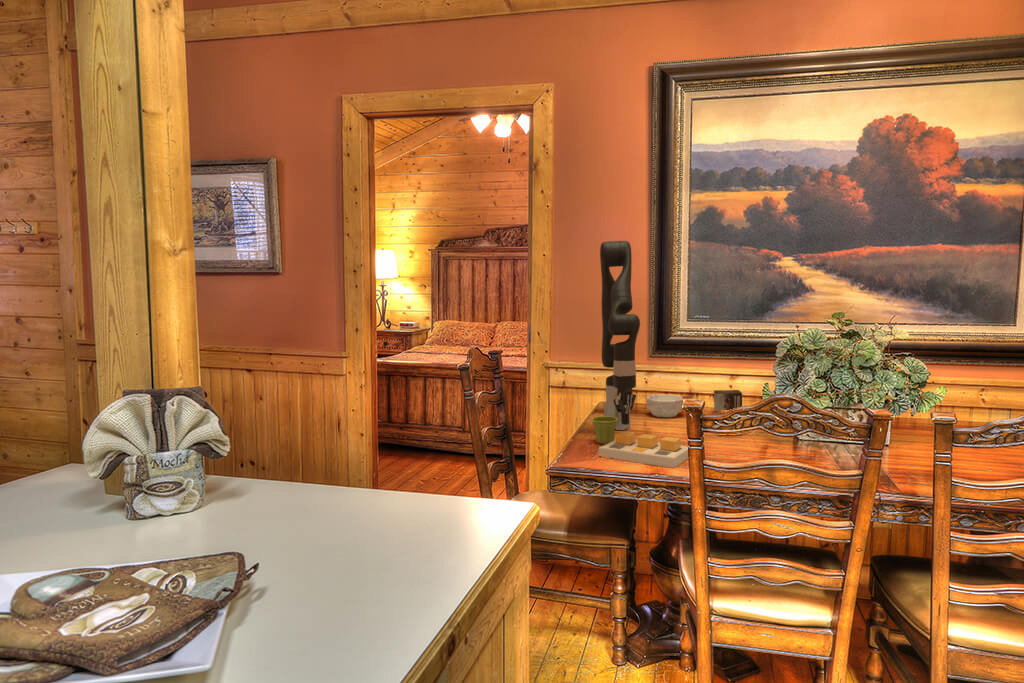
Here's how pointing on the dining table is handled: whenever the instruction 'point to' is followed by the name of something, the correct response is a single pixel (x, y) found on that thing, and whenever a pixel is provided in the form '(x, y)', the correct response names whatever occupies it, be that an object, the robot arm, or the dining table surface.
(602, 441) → the plant pot
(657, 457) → the button board
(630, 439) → the button left
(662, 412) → the light grey bowl
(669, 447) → the button right
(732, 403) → the coffee box
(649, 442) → the button middle
